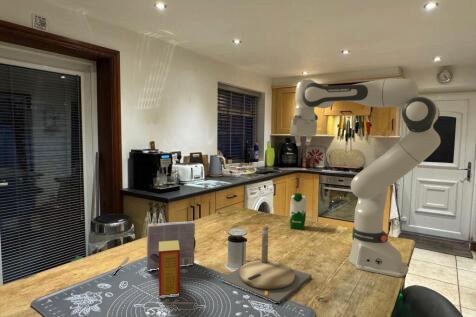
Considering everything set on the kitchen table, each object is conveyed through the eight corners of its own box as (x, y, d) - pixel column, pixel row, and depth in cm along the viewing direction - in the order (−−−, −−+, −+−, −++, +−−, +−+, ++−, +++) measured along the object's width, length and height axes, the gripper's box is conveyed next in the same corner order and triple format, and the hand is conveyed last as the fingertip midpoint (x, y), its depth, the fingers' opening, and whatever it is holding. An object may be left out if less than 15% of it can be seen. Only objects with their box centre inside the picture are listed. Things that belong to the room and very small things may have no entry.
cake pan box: (194, 261, 130) (194, 219, 128) (197, 265, 125) (197, 222, 123) (146, 267, 123) (146, 223, 121) (147, 272, 118) (147, 227, 117)
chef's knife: (135, 256, 134) (128, 256, 134) (135, 254, 134) (128, 253, 134) (119, 276, 115) (111, 276, 115) (120, 273, 115) (111, 273, 115)
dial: (304, 273, 116) (305, 233, 114) (276, 295, 100) (277, 248, 99) (259, 259, 128) (260, 222, 127) (228, 277, 112) (228, 235, 111)
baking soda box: (159, 284, 109) (158, 240, 107) (178, 283, 110) (178, 239, 109) (159, 299, 100) (158, 250, 98) (179, 296, 101) (179, 248, 100)
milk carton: (288, 229, 175) (289, 193, 173) (290, 224, 184) (291, 191, 182) (304, 230, 172) (305, 195, 171) (305, 226, 181) (306, 192, 180)
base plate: (311, 277, 116) (311, 274, 116) (278, 304, 97) (278, 300, 97) (258, 260, 131) (258, 257, 131) (220, 281, 112) (220, 277, 112)
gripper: (300, 114, 134) (299, 146, 136) (319, 116, 151) (318, 145, 152) (287, 114, 138) (286, 145, 139) (307, 117, 154) (306, 145, 155)
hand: (303, 145), depth 146 cm, fingers open, 8 cm apart
